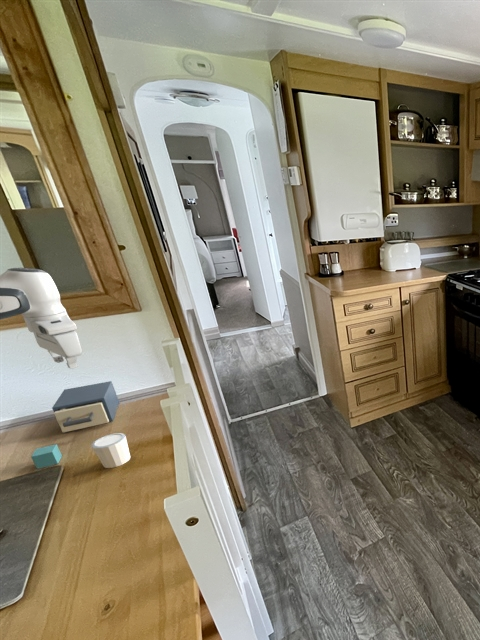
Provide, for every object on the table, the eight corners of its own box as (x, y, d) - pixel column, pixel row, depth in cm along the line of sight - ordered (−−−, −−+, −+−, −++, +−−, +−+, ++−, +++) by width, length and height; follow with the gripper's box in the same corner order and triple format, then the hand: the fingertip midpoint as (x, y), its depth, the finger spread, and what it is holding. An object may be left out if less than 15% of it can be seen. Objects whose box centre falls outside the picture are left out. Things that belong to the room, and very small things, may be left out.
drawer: (105, 429, 115) (97, 410, 112) (58, 440, 109) (48, 420, 107) (115, 405, 128) (108, 387, 125) (73, 413, 123) (65, 395, 120)
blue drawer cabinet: (113, 421, 121) (103, 397, 117) (63, 432, 115) (51, 407, 111) (119, 402, 131) (111, 381, 128) (74, 412, 125) (64, 389, 122)
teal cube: (37, 469, 99) (30, 456, 98) (41, 460, 102) (35, 448, 101) (58, 463, 101) (52, 451, 100) (62, 455, 104) (56, 444, 103)
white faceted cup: (133, 450, 107) (125, 429, 105) (133, 462, 102) (125, 441, 100) (100, 460, 103) (91, 438, 101) (99, 473, 98) (89, 451, 96)
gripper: (19, 320, 113) (38, 361, 118) (48, 331, 105) (67, 375, 110) (48, 314, 119) (64, 355, 124) (78, 324, 110) (95, 367, 115)
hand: (66, 364), depth 117 cm, fingers open, 8 cm apart
